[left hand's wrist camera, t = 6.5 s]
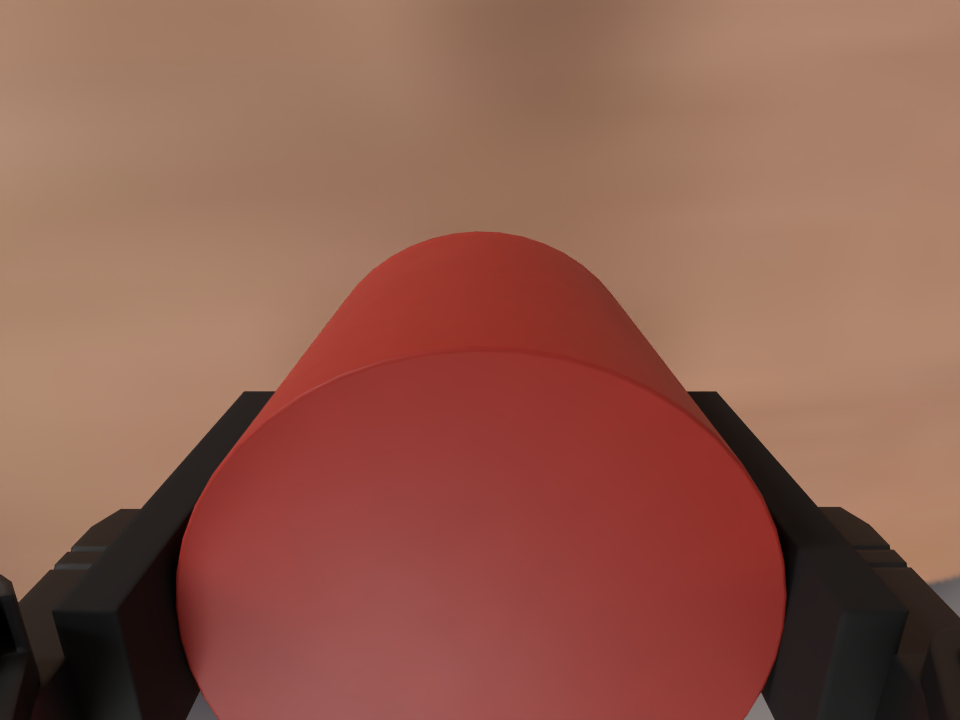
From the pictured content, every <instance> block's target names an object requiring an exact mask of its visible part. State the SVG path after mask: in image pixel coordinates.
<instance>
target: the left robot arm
mask: <svg viewBox="0 0 960 720" xmlns="http://www.w3.org/2000/svg"><path fill="white" fill-rule="evenodd" d="M275 392H276V391H244V392H243V393H242V395H241V396H240V397H239V398H238V399H237V400H236V401H235V403H234V404H233V405H232V406H231V407H230V408H229V409H228V411H227V412H226V413H225V414H224V415H223V416H222V417H221V418H220V420H219V421H218V422H217V423H216V424H215V425H214V426H213V428H212V429H211V430H210V431H209V432H208V433H207V434H206V436H205V437H204V438H203V439H202V440H201V441H200V442H199V443H198V445H197V446H196V447H195V448H194V449H193V450H192V451H191V453H190V454H189V455H188V456H187V457H186V458H185V459H184V461H183V462H182V463H181V464H180V465H179V466H178V467H177V469H176V470H175V471H174V472H173V473H172V474H171V475H170V476H169V478H168V479H167V480H166V481H165V482H164V483H163V484H162V486H161V487H160V488H159V489H158V490H157V491H156V492H155V494H154V495H153V496H152V497H151V498H150V499H149V500H148V502H147V503H146V504H145V505H144V506H143V507H142V508H141V509H120V510H118V511H117V512H115V513H114V514H112V515H110V516H109V517H107V518H105V519H104V520H102V521H100V522H99V523H97V524H95V525H94V526H92V527H91V528H90V529H89V530H88V531H87V532H86V533H85V534H84V535H83V536H82V537H81V538H80V539H79V540H78V541H77V542H76V543H75V545H74V546H73V547H72V548H71V552H67V553H66V554H65V555H64V556H63V557H62V558H61V559H60V560H59V561H58V562H57V563H56V564H55V567H54V570H49V572H48V573H47V574H46V575H45V576H44V577H43V578H42V579H41V580H40V581H39V582H38V583H37V584H36V585H35V586H34V587H33V588H32V589H31V590H30V591H29V592H28V593H27V594H26V595H25V596H24V597H23V599H22V600H21V601H20V602H19V603H18V601H17V598H16V595H15V591H14V588H13V585H12V582H11V581H9V580H8V579H7V578H5V577H4V576H2V575H0V720H186V718H187V716H188V714H189V712H190V710H191V708H192V706H193V704H194V702H195V700H196V698H197V696H198V694H199V692H200V689H199V687H198V685H197V682H196V680H195V678H194V676H193V674H192V672H191V670H190V668H189V664H188V661H187V658H186V655H185V652H184V648H183V645H182V642H181V639H180V632H179V625H178V618H177V611H176V572H177V566H178V561H179V556H180V550H181V545H182V540H183V536H184V534H185V531H186V528H187V525H188V523H189V520H190V517H191V514H192V512H193V509H194V506H195V504H196V503H197V501H198V499H199V497H200V496H201V494H202V492H203V490H204V488H205V487H206V485H207V483H208V481H209V480H210V478H211V476H212V474H213V473H214V472H215V470H216V469H217V468H218V466H219V465H220V464H221V462H222V461H223V460H224V459H225V457H226V456H227V455H228V453H229V452H230V451H231V449H232V448H233V447H234V445H235V444H236V443H237V441H238V440H239V439H240V438H241V436H242V435H243V434H244V432H245V431H246V430H247V428H248V427H249V426H250V424H251V423H252V422H253V421H254V419H255V418H256V417H257V415H258V414H259V413H260V411H261V410H262V409H263V407H264V406H265V405H266V403H267V402H268V401H269V400H270V398H271V397H272V396H273V394H274V393H275ZM687 393H688V394H689V395H690V397H691V398H692V399H693V400H694V402H695V403H696V404H697V406H698V407H699V408H700V409H701V411H702V412H703V413H704V415H705V416H706V417H707V419H708V420H709V421H710V422H711V424H712V425H713V426H714V428H715V429H716V430H717V432H718V433H719V434H720V435H721V437H722V438H723V439H724V441H725V442H726V443H727V445H728V446H729V447H730V448H731V450H732V451H733V452H734V454H735V455H736V456H737V458H738V459H739V460H740V461H741V463H742V464H743V466H744V467H745V469H746V470H747V472H748V473H749V475H750V477H751V478H752V480H753V481H754V483H755V484H756V486H757V488H758V489H759V491H760V492H761V494H762V496H763V498H764V500H765V503H766V505H767V507H768V510H769V512H770V514H771V517H772V519H773V521H774V524H775V526H776V529H777V533H778V537H779V541H780V545H781V549H782V553H783V558H784V563H785V577H786V591H787V599H786V610H785V620H784V629H783V633H782V637H781V641H780V645H779V649H778V653H777V656H776V660H775V662H774V665H773V667H772V669H771V672H770V674H769V676H768V679H767V681H766V683H765V686H764V688H763V690H762V691H761V693H762V695H763V697H764V699H765V701H766V703H767V705H768V707H769V709H770V711H771V713H772V715H773V717H774V719H775V720H960V618H959V617H958V615H956V613H955V612H954V611H953V610H952V609H951V608H950V607H949V606H948V605H947V604H946V603H945V602H944V601H943V600H942V599H941V598H940V597H939V596H938V595H937V594H936V593H935V592H934V591H933V590H932V589H931V588H930V587H929V586H928V585H927V583H926V582H925V581H924V580H923V579H922V578H921V577H920V576H919V575H918V574H917V573H916V572H915V571H914V570H913V569H912V568H908V567H907V563H906V562H905V561H904V560H903V559H902V558H901V557H900V556H899V555H898V554H897V553H896V552H895V550H890V545H889V544H888V543H887V542H886V541H885V540H884V539H883V538H882V537H881V536H880V535H879V534H878V533H877V532H876V531H875V530H874V529H873V528H872V527H871V526H870V525H869V524H867V523H866V522H864V521H862V520H861V519H859V518H858V517H856V516H854V515H853V514H851V513H849V512H848V511H846V510H844V509H843V508H841V507H817V506H816V504H815V503H814V502H813V501H812V500H811V499H810V498H809V496H808V495H807V494H806V493H805V492H804V491H803V490H802V488H801V487H800V486H799V485H798V484H797V483H796V482H795V481H794V479H793V478H792V477H791V476H790V475H789V474H788V473H787V471H786V470H785V469H784V468H783V467H782V466H781V465H780V463H779V462H778V461H777V460H776V459H775V458H774V457H773V455H772V454H771V453H770V452H769V451H768V450H767V449H766V448H765V446H764V445H763V444H762V443H761V442H760V441H759V440H758V438H757V437H756V436H755V435H754V434H753V433H752V432H751V430H750V429H749V428H748V427H747V426H746V425H745V424H744V422H743V421H742V420H741V419H740V418H739V417H738V416H737V415H736V413H735V412H734V411H733V410H732V409H731V408H730V407H729V405H728V404H727V403H726V402H725V401H724V400H723V399H722V397H721V396H720V395H719V394H718V393H717V392H687Z"/></svg>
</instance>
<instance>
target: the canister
mask: <svg viewBox="0 0 960 720" xmlns="http://www.w3.org/2000/svg"><path fill="white" fill-rule="evenodd" d="M786 599H787V591H786V577H785V563H784V558H783V553H782V549H781V545H780V541H779V537H778V533H777V529H776V526H775V524H774V521H773V519H772V517H771V514H770V512H769V510H768V507H767V505H766V503H765V500H764V498H763V496H762V494H761V492H760V491H759V489H758V488H757V486H756V484H755V483H754V481H753V480H752V478H751V477H750V475H749V473H748V472H747V470H746V469H745V467H744V466H743V464H742V463H741V461H740V460H739V459H738V458H737V456H736V455H735V454H734V452H733V451H732V450H731V448H730V447H729V446H728V445H727V443H726V442H725V441H724V439H723V438H722V437H721V435H720V434H719V433H718V432H717V430H716V429H715V428H714V426H713V425H712V424H711V422H710V421H709V420H708V419H707V417H706V416H705V415H704V413H703V412H702V411H701V409H700V408H699V407H698V406H697V404H696V403H695V402H694V400H693V399H692V398H691V397H690V395H689V394H688V393H687V391H686V390H685V389H684V387H683V386H682V385H681V384H680V382H679V381H678V380H677V378H676V377H675V376H674V374H673V373H672V372H671V371H670V369H669V368H668V367H667V365H666V364H665V363H664V361H663V360H662V359H661V358H660V356H659V355H658V354H657V352H656V351H655V350H654V348H653V347H652V346H651V345H650V343H649V342H648V341H647V339H646V338H645V337H644V335H643V334H642V333H641V332H640V330H639V329H638V328H637V326H636V325H635V324H634V323H633V321H632V320H631V319H630V317H629V316H628V315H627V313H626V312H625V311H624V310H623V308H622V307H621V306H620V304H619V303H618V302H617V300H616V299H615V298H614V297H613V295H612V294H611V293H610V292H609V291H608V290H607V288H606V287H605V286H604V285H603V284H602V283H601V281H600V280H599V279H598V278H597V277H595V276H594V275H593V274H592V273H591V272H590V271H589V270H587V269H586V268H585V267H584V266H583V265H581V264H580V263H578V262H577V261H575V260H574V259H572V258H571V257H569V256H568V255H566V254H565V253H563V252H561V251H559V250H556V249H554V248H552V247H550V246H548V245H546V244H544V243H541V242H538V241H534V240H531V239H528V238H525V237H522V236H516V235H510V234H505V233H497V232H467V233H455V234H450V235H446V236H441V237H437V238H432V239H429V240H427V241H424V242H421V243H418V244H416V245H413V246H410V247H409V248H407V249H405V250H403V251H401V252H399V253H397V254H395V255H393V256H392V257H390V258H389V259H387V260H386V261H385V262H383V263H382V264H380V265H379V266H378V267H376V268H375V269H373V270H372V271H371V272H370V273H369V274H368V275H367V276H366V277H365V278H364V279H363V280H362V281H361V282H360V283H359V284H358V285H357V286H356V287H355V289H354V290H353V291H352V292H351V294H350V295H349V296H348V297H347V299H346V300H345V301H344V302H343V304H342V305H341V306H340V308H339V309H338V310H337V312H336V313H335V314H334V316H333V317H332V318H331V320H330V321H329V322H328V323H327V325H326V326H325V327H324V329H323V330H322V331H321V333H320V334H319V335H318V337H317V338H316V339H315V341H314V342H313V343H312V344H311V346H310V347H309V348H308V350H307V351H306V352H305V354H304V355H303V356H302V358H301V359H300V360H299V361H298V363H297V364H296V365H295V367H294V368H293V369H292V371H291V372H290V373H289V375H288V376H287V377H286V379H285V380H284V381H283V382H282V384H281V385H280V386H279V388H278V389H277V390H276V392H275V393H274V394H273V396H272V397H271V398H270V400H269V401H268V402H267V403H266V405H265V406H264V407H263V409H262V410H261V411H260V413H259V414H258V415H257V417H256V418H255V419H254V421H253V422H252V423H251V424H250V426H249V427H248V428H247V430H246V431H245V432H244V434H243V435H242V436H241V438H240V439H239V440H238V441H237V443H236V444H235V445H234V447H233V448H232V449H231V451H230V452H229V453H228V455H227V456H226V457H225V459H224V460H223V461H222V462H221V464H220V465H219V466H218V468H217V469H216V470H215V472H214V473H213V474H212V476H211V478H210V480H209V481H208V483H207V485H206V487H205V488H204V490H203V492H202V494H201V496H200V497H199V499H198V501H197V503H196V504H195V506H194V509H193V512H192V514H191V517H190V520H189V523H188V525H187V528H186V531H185V534H184V536H183V540H182V545H181V550H180V556H179V561H178V566H177V572H176V611H177V618H178V625H179V632H180V639H181V642H182V645H183V648H184V652H185V655H186V658H187V661H188V664H189V668H190V670H191V672H192V674H193V676H194V678H195V680H196V682H197V685H198V687H199V689H200V691H201V693H202V695H203V697H204V698H205V700H206V702H207V703H208V704H209V706H210V708H211V709H212V710H213V712H214V713H215V715H216V716H217V718H218V719H219V720H743V719H744V718H745V717H746V716H747V714H748V713H749V711H750V709H751V708H752V706H753V704H754V703H755V701H756V700H757V698H758V696H759V694H760V693H761V691H762V690H763V688H764V686H765V683H766V681H767V679H768V676H769V674H770V672H771V669H772V667H773V665H774V662H775V660H776V656H777V653H778V649H779V645H780V641H781V637H782V633H783V629H784V620H785V610H786Z"/></svg>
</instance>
